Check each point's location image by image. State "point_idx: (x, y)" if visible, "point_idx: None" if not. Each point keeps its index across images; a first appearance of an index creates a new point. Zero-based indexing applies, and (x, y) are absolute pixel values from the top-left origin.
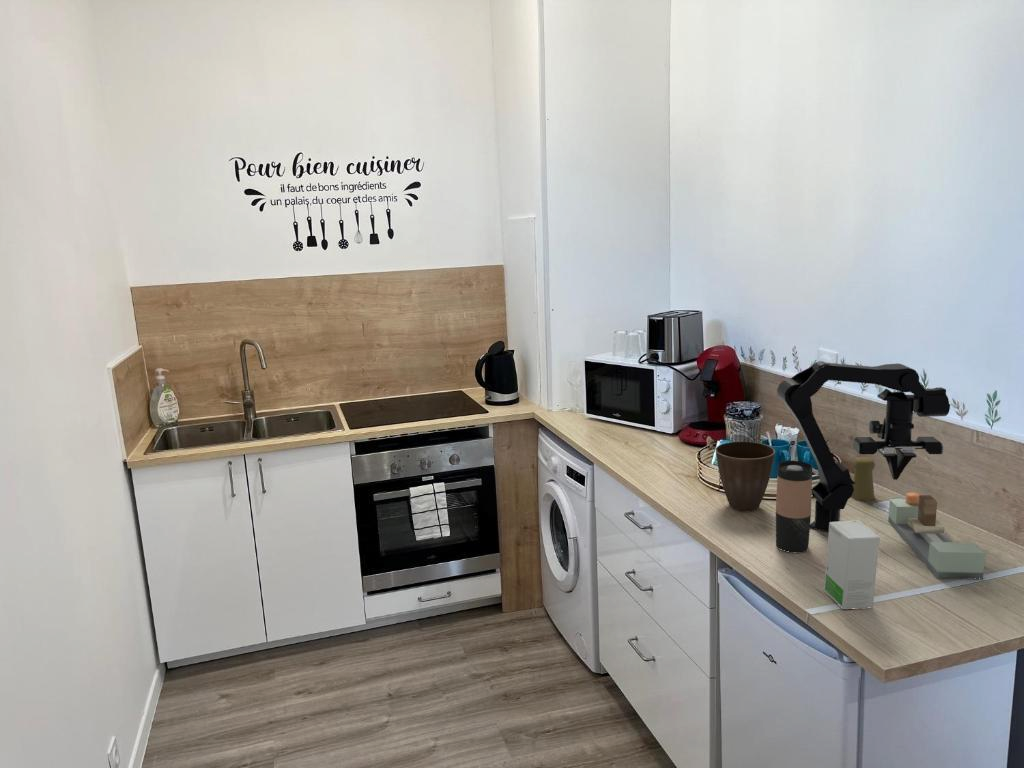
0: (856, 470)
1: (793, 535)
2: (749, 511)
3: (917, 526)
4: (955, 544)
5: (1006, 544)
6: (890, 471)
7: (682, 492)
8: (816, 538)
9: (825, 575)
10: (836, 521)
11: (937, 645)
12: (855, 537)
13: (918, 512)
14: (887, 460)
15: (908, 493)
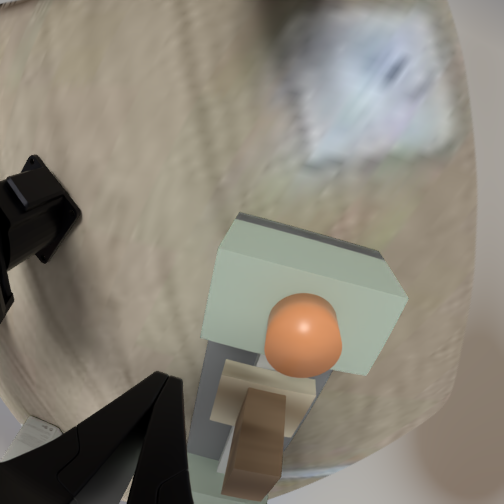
0: None
1: None
2: None
3: (212, 419)
4: (221, 502)
5: (435, 403)
6: (118, 400)
7: None
8: (15, 271)
9: (19, 431)
10: (35, 253)
11: (124, 498)
12: None
13: (244, 410)
14: (42, 461)
15: (290, 328)
